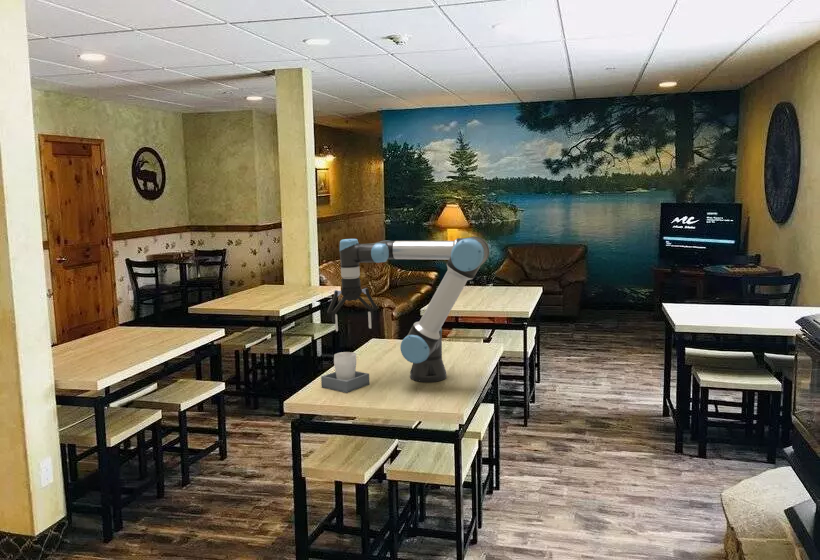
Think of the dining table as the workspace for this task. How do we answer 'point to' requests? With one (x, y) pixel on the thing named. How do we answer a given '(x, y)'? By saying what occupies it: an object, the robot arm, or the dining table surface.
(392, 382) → the dining table surface
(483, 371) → the dining table surface
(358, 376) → the bin
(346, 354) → the cup
